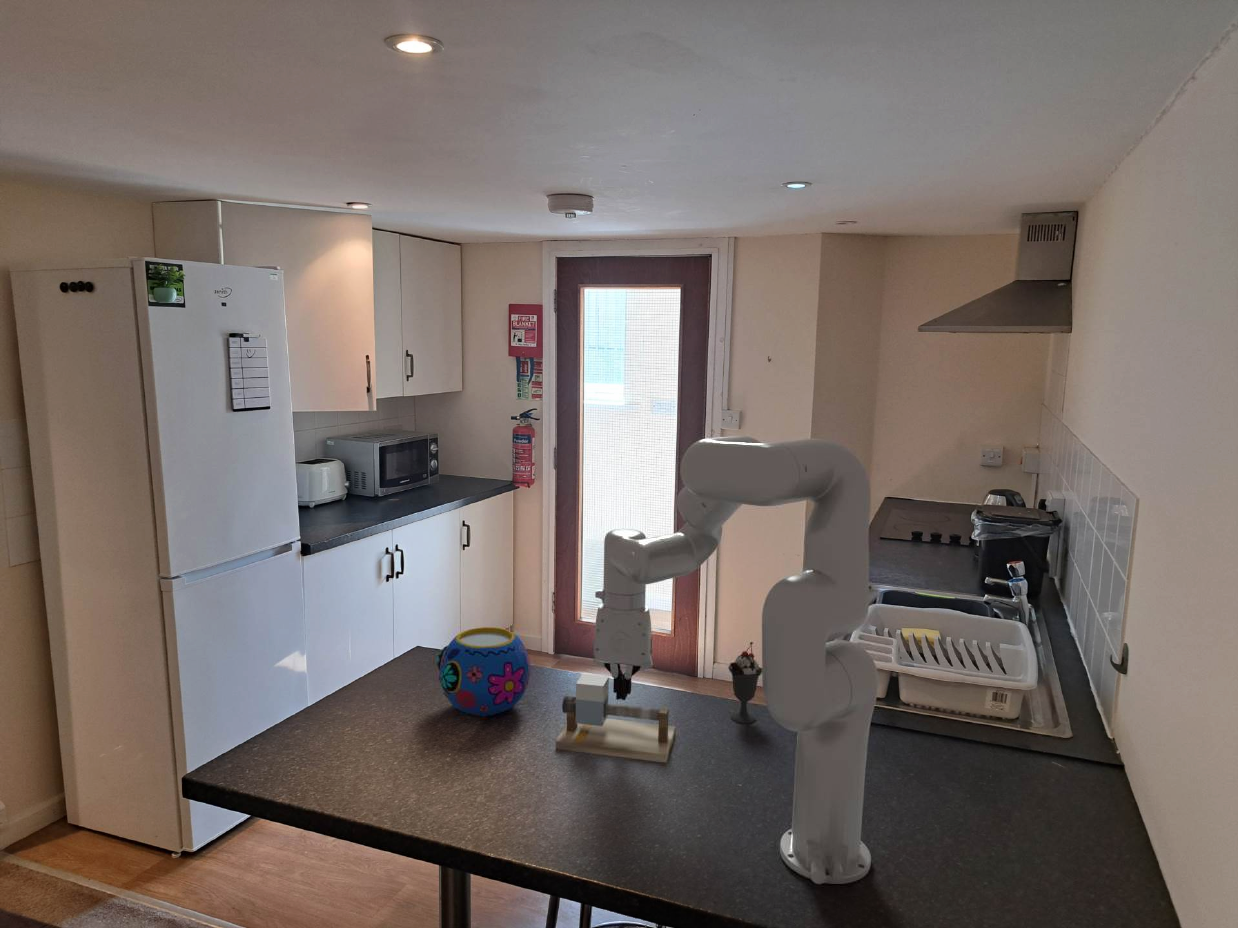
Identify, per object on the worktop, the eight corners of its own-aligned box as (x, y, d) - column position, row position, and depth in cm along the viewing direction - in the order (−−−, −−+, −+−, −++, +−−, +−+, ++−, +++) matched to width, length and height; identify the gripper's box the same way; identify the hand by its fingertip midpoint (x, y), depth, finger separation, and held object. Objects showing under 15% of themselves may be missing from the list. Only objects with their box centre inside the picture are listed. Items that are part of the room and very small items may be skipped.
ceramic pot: (435, 695, 167) (434, 625, 165) (521, 687, 173) (521, 618, 171) (443, 734, 151) (442, 656, 149) (538, 723, 156) (539, 648, 154)
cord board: (666, 762, 142) (667, 721, 141) (555, 748, 146) (556, 709, 145) (675, 733, 153) (676, 695, 152) (571, 721, 157) (572, 684, 156)
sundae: (759, 711, 163) (762, 639, 161) (761, 726, 157) (765, 651, 155) (725, 709, 164) (728, 637, 162) (726, 724, 157) (729, 649, 155)
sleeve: (602, 726, 147) (603, 686, 146) (575, 723, 148) (576, 683, 147) (608, 715, 152) (608, 676, 151) (581, 712, 153) (582, 673, 152)
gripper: (578, 601, 144) (576, 701, 146) (662, 608, 141) (659, 710, 143) (588, 589, 151) (587, 684, 153) (668, 596, 148) (666, 692, 150)
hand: (622, 696), depth 148 cm, fingers closed
